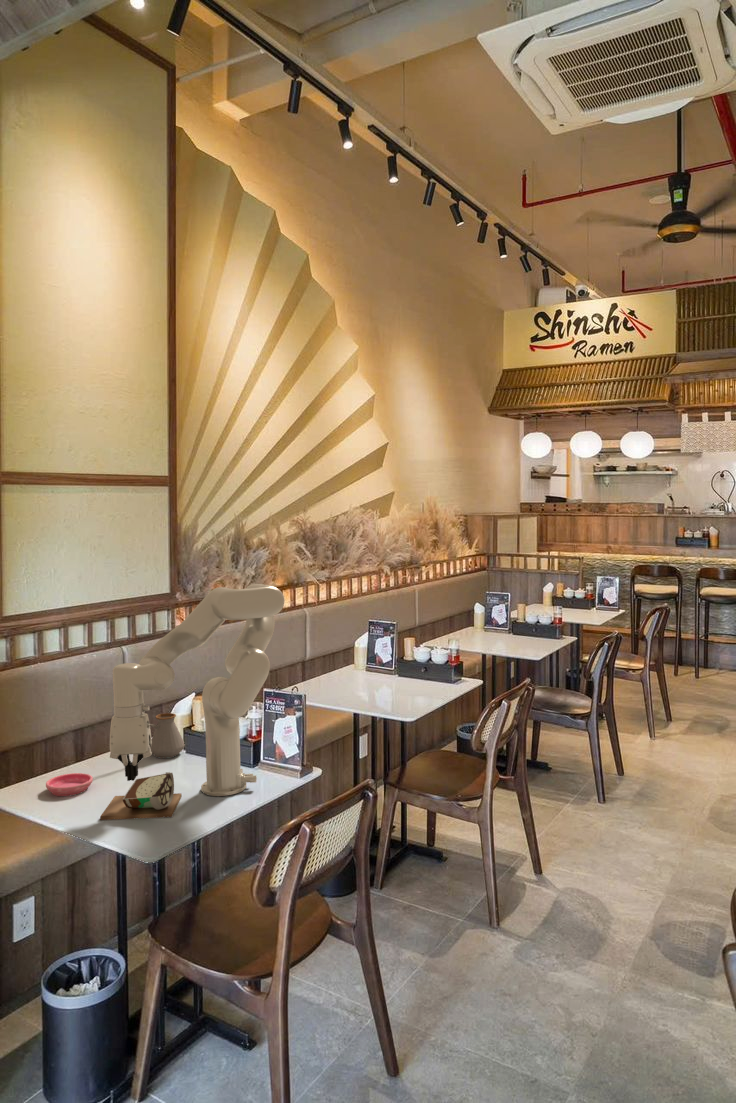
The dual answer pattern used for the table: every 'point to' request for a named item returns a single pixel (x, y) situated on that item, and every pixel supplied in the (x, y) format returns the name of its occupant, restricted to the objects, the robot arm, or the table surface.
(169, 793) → the food container
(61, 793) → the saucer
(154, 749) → the coffee pot
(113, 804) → the walnut board
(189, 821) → the table surface
